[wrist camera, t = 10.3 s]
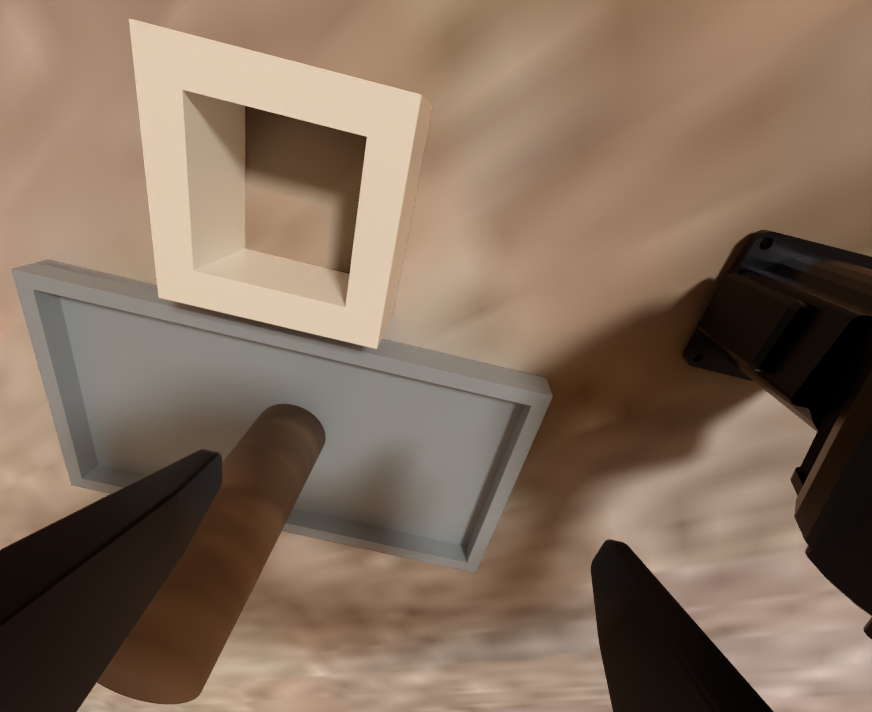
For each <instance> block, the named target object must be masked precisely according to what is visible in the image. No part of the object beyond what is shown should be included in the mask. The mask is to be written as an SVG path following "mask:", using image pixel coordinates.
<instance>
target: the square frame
mask: <svg viewBox="0 0 872 712" xmlns="http://www.w3.org/2000/svg"><path fill="white" fill-rule="evenodd" d="M129 24H130V33H131V42H132V52H133V61H134V71H135V80H136V90H137V99H138V109H139V118H140V127H141V137H142V146H143V156H144V165H145V175H146V184H147V193H148V203H149V212H150V222H151V231H152V241H153V250H154V259H155V269H156V278H157V288H158V297H159V298H163V299H167V300H171V301H175V302H180V303H184V304H188V305H192V306H196V307H201V308H205V309H209V310H213V311H218V312H222V313H226V314H230V315H235V316H239V317H243V318H247V319H252V320H256V321H260V322H264V323H269V324H273V325H277V326H281V327H285V328H290V329H294V330H298V331H302V332H307V333H311V334H315V335H319V336H324V337H328V338H332V339H336V340H341V341H345V342H349V343H353V344H357V345H362V346H366V347H370V348H374V349H377V348H378V346H379V344H380V341H381V339H382V337H383V335H384V333H385V331H386V329H387V327H388V325H389V322H390V320H391V318H392V316H393V314H394V308H395V303H396V298H397V292H398V287H399V282H400V277H401V271H402V266H403V261H404V255H405V250H406V245H407V240H408V234H409V229H410V224H411V218H412V213H413V208H414V202H415V197H416V192H417V187H418V181H419V176H420V171H421V165H422V160H423V155H424V149H425V144H426V139H427V134H428V128H429V123H430V118H431V112H432V107H431V106H430V104H429V103H428V102H427V101H426V99H425V98H424V97H423V96H422V95H421V94H417V93H413V92H409V91H405V90H402V89H398V88H394V87H390V86H386V85H382V84H379V83H375V82H371V81H367V80H363V79H359V78H356V77H352V76H348V75H344V74H340V73H336V72H332V71H329V70H325V69H321V68H317V67H313V66H309V65H306V64H302V63H298V62H294V61H290V60H286V59H283V58H279V57H275V56H271V55H267V54H263V53H260V52H256V51H252V50H248V49H244V48H240V47H237V46H233V45H229V44H225V43H221V42H217V41H213V40H210V39H206V38H202V37H198V36H194V35H190V34H187V33H183V32H179V31H175V30H171V29H167V28H164V27H160V26H156V25H152V24H148V23H144V22H141V21H137V20H133V19H129ZM245 106H248V107H252V108H256V109H260V110H264V111H268V112H272V113H276V114H280V115H283V116H287V117H291V118H295V119H299V120H303V121H307V122H311V123H315V124H319V125H323V126H327V127H330V128H334V129H338V130H342V131H346V132H350V133H354V134H358V135H362V136H366V137H367V141H366V148H365V156H364V164H363V172H362V180H361V188H360V196H359V204H358V211H357V219H356V227H355V235H354V243H353V251H352V259H351V267H350V274H348V273H343V272H339V271H335V270H331V269H327V268H323V267H319V266H315V265H310V264H306V263H302V262H298V261H294V260H290V259H286V258H282V257H277V256H273V255H269V254H265V253H261V252H257V251H253V250H249V249H245Z"/></svg>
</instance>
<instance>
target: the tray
mask: <svg viewBox="0 0 872 712" xmlns="http://www.w3.org/2000/svg"><path fill="white" fill-rule="evenodd" d="M11 270H12V274H13V277H14V281H15V284H16V288H17V291H18V295H19V299H20V302H21V306H22V309H23V313H24V317H25V320H26V324H27V327H28V331H29V335H30V338H31V342H32V345H33V349H34V352H35V356H36V360H37V363H38V367H39V370H40V374H41V378H42V381H43V385H44V388H45V392H46V396H47V399H48V403H49V406H50V410H51V413H52V417H53V421H54V424H55V428H56V431H57V435H58V439H59V442H60V446H61V449H62V453H63V457H64V460H65V464H66V467H67V471H68V474H69V478H70V482H71V485H73V486H78V487H82V488H87V489H92V490H96V491H101V492H105V493H110V494H112V493H114V492H116V491H118V490H120V489H122V488H124V487H126V486H128V485H130V484H132V483H134V482H136V481H138V480H140V479H142V478H144V477H146V476H148V475H150V474H152V473H154V472H156V471H158V470H160V469H162V468H164V467H166V466H168V465H170V464H172V463H174V462H176V461H178V460H180V459H182V458H184V457H186V456H188V455H190V454H192V453H194V452H196V451H198V450H200V449H207V450H212V451H216V452H219V453H220V454H221V455H222V462H223V461H224V460H225V458H226V457H227V456H228V455H229V453H230V452H231V451H232V450H233V448H234V447H235V446H236V445H237V443H238V442H239V441H240V440H241V438H242V437H243V436H244V435H245V433H246V432H247V431H248V430H249V428H250V427H251V426H252V425H253V423H254V422H255V421H256V420H257V418H258V417H259V416H260V415H261V413H262V412H263V411H264V410H265V409H267V408H268V407H270V406H273V405H276V404H292V405H296V406H299V407H302V408H304V409H306V410H308V411H309V412H311V413H312V414H313V415H314V416H315V417H316V418H317V419H318V420H319V421H320V422H321V424H322V426H323V428H324V431H325V436H326V440H325V444H324V447H323V449H322V451H321V453H320V455H319V457H318V459H317V461H316V463H315V465H314V467H313V469H312V471H311V473H310V475H309V477H308V479H307V481H306V483H305V485H304V487H303V489H302V491H301V493H300V495H299V497H298V499H297V501H296V503H295V505H294V507H293V509H292V511H291V513H290V515H289V517H288V519H287V521H286V523H285V525H284V527H283V529H282V531H285V532H289V533H294V534H299V535H303V536H308V537H312V538H317V539H322V540H326V541H331V542H335V543H340V544H345V545H349V546H354V547H358V548H363V549H367V550H372V551H377V552H381V553H386V554H390V555H395V556H400V557H404V558H409V559H413V560H418V561H423V562H427V563H432V564H436V565H441V566H446V567H450V568H455V569H459V570H464V571H469V572H473V573H476V572H477V569H478V567H479V565H480V563H481V560H482V558H483V556H484V553H485V551H486V549H487V547H488V544H489V542H490V540H491V537H492V535H493V533H494V530H495V528H496V526H497V524H498V521H499V519H500V517H501V514H502V512H503V510H504V508H505V505H506V503H507V501H508V498H509V496H510V494H511V491H512V489H513V487H514V485H515V482H516V480H517V478H518V475H519V473H520V471H521V469H522V466H523V464H524V462H525V459H526V457H527V455H528V452H529V450H530V448H531V446H532V443H533V441H534V439H535V436H536V434H537V432H538V430H539V427H540V425H541V423H542V420H543V418H544V416H545V413H546V411H547V409H548V407H549V404H550V402H551V400H552V397H553V395H552V393H551V390H550V387H549V384H548V381H547V378H545V377H540V376H536V375H532V374H528V373H523V372H519V371H515V370H511V369H507V368H502V367H498V366H494V365H490V364H486V363H481V362H477V361H473V360H469V359H464V358H460V357H456V356H452V355H448V354H443V353H439V352H435V351H431V350H426V349H422V348H418V347H414V346H410V345H405V344H401V343H397V342H393V341H389V340H384V339H381V341H380V344H379V346H378V348H377V349H374V348H370V347H366V346H362V345H357V344H353V343H349V342H345V341H341V340H336V339H332V338H328V337H324V336H319V335H315V334H311V333H307V332H302V331H298V330H294V329H290V328H285V327H281V326H277V325H273V324H269V323H264V322H260V321H256V320H252V319H247V318H243V317H239V316H235V315H230V314H226V313H222V312H218V311H213V310H209V309H205V308H201V307H196V306H192V305H188V304H184V303H180V302H175V301H171V300H167V299H163V298H159V297H158V288H157V285H152V284H148V283H144V282H140V281H135V280H131V279H127V278H123V277H119V276H114V275H110V274H106V273H102V272H98V271H93V270H89V269H85V268H81V267H76V266H72V265H68V264H64V263H60V262H55V261H51V260H45V261H41V262H37V263H33V264H29V265H25V266H21V267H17V268H13V269H11Z"/></svg>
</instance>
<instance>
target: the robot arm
mask: <svg viewBox="0 0 872 712" xmlns="http://www.w3.org/2000/svg"><path fill="white" fill-rule="evenodd" d="M765 238H766V239H767V241H766V244H765V245H764V246H763V247H761V248H760V246H759V245H760V242H761V241H762V240H763V239H765ZM695 353H699V354H698V356H697V357H695V358H692V356H693V355H694V354H695ZM682 356H683V359H684V360H685V361H686V362H687V363H688V364H689V365H691V366H693V367H698V368H702V369H706V370H710V371H714V372H718V373H722V374H727V375H731V376H735V377H739V378H743V379H747V380H751V381H754V382H756V383H757V384H758V385H759V386H761V387H762V388H763V389H764V390H766V391H767V392H768V393H769V394H771V395H772V396H773V397H774V398H776V399H777V400H778V401H779V402H781V403H782V404H783V405H784V406H786V407H787V408H788V409H789V410H791V411H792V412H793V413H794V414H796V415H797V416H798V417H799V418H801V419H802V420H803V421H804V422H806V423H807V424H808V425H809V426H811V427H812V428H813V429H814V430H816V431H817V434H816V436H815V438H814V440H813V442H812V444H811V446H810V448H809V450H808V452H807V454H806V456H805V459H804V461H803V463H802V465H801V467H797V468H796V469H795V471H794V473H793V475H792V477H791V482H792V484H793V487H794V489H795V491H796V493H797V496H798V497H797V499H796V507H795V516H794V517H795V519H796V521H797V523H798V526H799V528H800V530H801V533H802V535H803V537H804V539H805V541H806V543H807V544H808V546H807V548H806V551H805V553H806V555H807V557H808V558H809V559H810V560H811V561H812V563H813V564H814V565H815V566H816V567H817V568H818V569H819V571H820V572H821V573H822V574H823V575H824V576H825V577H826V578H827V579H828V580H829V581H830V582H831V583H832V584H833V585H834V586H835V587H836V588H837V589H839V590H840V591H841V592H842V593H843V594H844V595H845V596H847V597H848V598H849V599H850V600H851V601H852V602H853V603H855V604H856V605H857V606H858V607H860V608H861V609H862V610H864V611H865V612H867V613H868V614H869V615H871V616H872V257H870V256H866V255H862V254H858V253H854V252H850V251H846V250H843V249H839V248H835V247H831V246H827V245H823V244H819V243H815V242H811V241H807V240H803V239H800V238H796V237H792V236H788V235H784V234H780V233H776V232H772V231H768V230H761V231H758V232H756V233H754V234H753V235H752V236H751V237H750V239H749V240H748V242H747V243H746V245H745V247H744V249H743V250H742V252H741V254H740V255H739V257H738V259H737V261H736V262H735V264H734V266H733V267H732V269H731V271H730V273H729V274H728V275H727V276H726V277H725V278H724V280H723V282H722V283H721V285H720V287H719V289H718V290H717V292H716V294H715V296H714V297H713V299H712V301H711V302H710V304H709V306H708V308H707V309H706V311H705V313H704V314H703V316H702V318H701V320H700V321H699V323H698V327H697V329H696V331H695V333H694V334H693V336H692V338H691V339H690V341H689V343H688V345H687V346H686V348H685V350H684V352H683V354H682ZM222 480H223V473H222V455H221V454H220V453H219V452H216V451H212V450H207V449H200V450H198V451H196V452H194V453H192V454H190V455H188V456H186V457H184V458H182V459H180V460H178V461H176V462H174V463H172V464H170V465H168V466H166V467H164V468H162V469H160V470H158V471H156V472H154V473H152V474H150V475H148V476H146V477H144V478H142V479H140V480H138V481H136V482H134V483H132V484H130V485H128V486H126V487H124V488H122V489H120V490H118V491H116V492H114V493H112V494H110V495H108V496H106V497H104V498H102V499H100V500H98V501H96V502H94V503H92V504H90V505H88V506H86V507H84V508H82V509H80V510H78V511H76V512H74V513H72V514H70V515H68V516H66V517H64V518H62V519H60V520H58V521H56V522H54V523H52V524H50V525H48V526H46V527H44V528H42V529H41V530H39V531H37V532H35V533H33V534H31V535H29V536H27V537H25V538H23V539H21V540H19V541H17V542H15V543H13V544H11V545H9V546H7V547H5V548H3V549H1V550H0V712H77V710H78V709H79V707H80V706H81V704H82V703H83V701H84V700H85V699H86V697H87V696H88V694H89V693H90V691H91V690H92V688H93V687H94V685H95V684H96V682H97V681H98V680H99V678H100V677H101V675H102V674H103V672H104V671H105V669H106V668H107V666H108V665H109V663H110V662H111V660H112V659H113V658H114V656H115V655H116V653H117V652H118V650H119V649H120V647H121V646H122V644H123V643H124V641H125V640H126V639H127V637H128V636H129V634H130V633H131V631H132V630H133V628H134V627H135V625H136V624H137V622H138V621H139V619H140V618H141V617H142V615H143V614H144V612H145V611H146V609H147V608H148V606H149V605H150V603H151V602H152V600H153V599H154V598H155V596H156V595H157V593H158V592H159V590H160V589H161V587H162V586H163V584H164V583H165V581H166V580H167V578H168V577H169V576H170V574H171V573H172V571H173V570H174V568H175V567H176V565H177V564H178V562H179V561H180V559H181V558H182V556H183V555H184V553H185V551H186V549H187V548H188V546H189V544H190V542H191V541H192V539H193V537H194V535H195V533H196V531H197V530H198V528H199V526H200V524H201V522H202V520H203V519H204V517H205V515H206V513H207V511H208V509H209V508H210V506H211V504H212V502H213V500H214V498H215V497H216V495H217V493H218V491H219V489H220V487H221V484H222ZM591 576H592V585H593V594H594V604H595V613H596V622H597V631H598V638H599V645H600V650H601V655H602V660H603V665H604V670H605V675H606V679H607V684H608V689H609V694H610V699H611V704H612V708H613V712H773V711H772V709H771V708H770V707H769V706H768V705H767V704H766V703H765V701H764V700H763V699H762V698H761V697H760V696H759V695H758V693H757V692H756V691H755V690H754V689H753V688H752V687H751V685H750V684H749V683H748V682H747V681H746V680H745V679H744V677H743V676H742V675H741V674H740V673H739V672H738V671H737V669H736V668H735V667H734V666H733V665H732V664H731V663H730V661H729V660H728V659H727V658H726V657H725V656H724V655H723V653H722V652H721V651H720V650H719V649H718V648H717V647H716V645H715V644H714V643H713V642H712V641H711V640H710V639H709V637H708V636H707V635H706V634H705V633H704V632H703V631H702V630H701V628H700V627H699V626H698V625H697V624H696V623H695V622H694V620H693V619H692V618H691V617H690V616H689V615H688V614H687V612H686V611H685V610H684V609H683V608H682V607H681V606H680V604H679V603H678V602H677V601H676V600H675V599H674V598H673V596H672V595H671V594H670V593H669V592H668V591H667V590H666V588H665V587H664V586H663V585H662V584H661V583H660V582H659V580H658V579H657V578H656V577H655V576H654V575H653V574H652V572H651V571H650V570H649V569H648V568H647V567H646V566H645V564H644V563H643V562H642V561H641V560H640V559H639V558H638V556H637V555H636V554H635V553H634V552H633V551H632V550H631V549H630V547H629V546H628V545H627V544H625V543H623V542H619V541H615V540H606V541H605V542H604V543H603V545H602V546H601V548H600V550H599V551H598V553H597V554H596V556H595V557H594V559H593V561H592V564H591ZM864 632H865V633H866V635H867V636H868V637H869V638H871V639H872V617H871V619H870V620H869V621H868V623H867V624H866V625H865V627H864Z"/></svg>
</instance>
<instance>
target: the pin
mask: <svg viewBox="0 0 872 712" xmlns="http://www.w3.org/2000/svg"><path fill="white" fill-rule="evenodd" d="M325 440H326V436H325V431H324V428H323V426H322V424H321V422H320V421H319V420H318V419H317V418H316V417H315V416H314V415H313V414H312V413H311V412H309V411H308V410H306V409H304V408H302V407H299V406H296V405H292V404H276V405H273V406H270V407H268V408H267V409H265V410H264V411H263V412H262V413H261V415H260V416H259V417H258V418H257V420H256V421H255V422H254V423H253V425H252V426H251V427H250V428H249V430H248V431H247V432H246V433H245V435H244V436H243V437H242V438H241V440H240V441H239V442H238V443H237V445H236V446H235V447H234V448H233V450H232V451H231V452H230V453H229V455H228V456H227V457H226V458H225V460H224V461H223V462H222V473H223V480H222V484H221V487H220V489H219V491H218V493H217V495H216V497H215V498H214V500H213V502H212V504H211V506H210V508H209V509H208V511H207V513H206V515H205V517H204V519H203V520H202V522H201V524H200V526H199V528H198V530H197V531H196V533H195V535H194V537H193V539H192V541H191V542H190V544H189V546H188V548H187V549H186V551H185V553H184V555H183V556H182V558H181V559H180V561H179V562H178V564H177V565H176V567H175V568H174V570H173V571H172V573H171V574H170V576H169V577H168V578H167V580H166V581H165V583H164V584H163V586H162V587H161V589H160V590H159V592H158V593H157V595H156V596H155V598H154V599H153V600H152V602H151V603H150V605H149V606H148V608H147V609H146V611H145V612H144V614H143V615H142V617H141V618H140V619H139V621H138V622H137V624H136V625H135V627H134V628H133V630H132V631H131V633H130V634H129V636H128V637H127V639H126V640H125V641H124V643H123V644H122V646H121V647H120V649H119V650H118V652H117V653H116V655H115V656H114V658H113V659H112V660H111V662H110V663H109V665H108V666H107V668H106V669H105V671H104V672H103V674H102V675H101V677H100V678H99V680H98V681H97V683H99V684H100V685H102V686H104V687H106V688H108V689H110V690H112V691H114V692H116V693H119V694H121V695H124V696H127V697H130V698H133V699H136V700H140V701H145V702H150V703H157V704H180V703H185V702H189V701H191V700H193V699H195V698H197V697H198V696H199V695H200V693H201V691H202V689H203V687H204V685H205V683H206V681H207V679H208V677H209V675H210V673H211V671H212V669H213V667H214V665H215V663H216V661H217V659H218V657H219V655H220V653H221V651H222V649H223V647H224V645H225V643H226V641H227V639H228V637H229V635H230V633H231V631H232V629H233V627H234V625H235V623H236V621H237V619H238V617H239V615H240V613H241V611H242V609H243V607H244V605H245V603H246V601H247V599H248V597H249V595H250V593H251V591H252V589H253V587H254V585H255V583H256V581H257V579H258V577H259V575H260V573H261V571H262V569H263V567H264V565H265V563H266V561H267V559H268V557H269V555H270V553H271V551H272V549H273V547H274V545H275V543H276V541H277V539H278V537H279V535H280V533H281V531H282V529H283V527H284V525H285V523H286V521H287V519H288V517H289V515H290V513H291V511H292V509H293V507H294V505H295V503H296V501H297V499H298V497H299V495H300V493H301V491H302V489H303V487H304V485H305V483H306V481H307V479H308V477H309V475H310V473H311V471H312V469H313V467H314V465H315V463H316V461H317V459H318V457H319V455H320V453H321V451H322V449H323V447H324V444H325Z"/></svg>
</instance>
